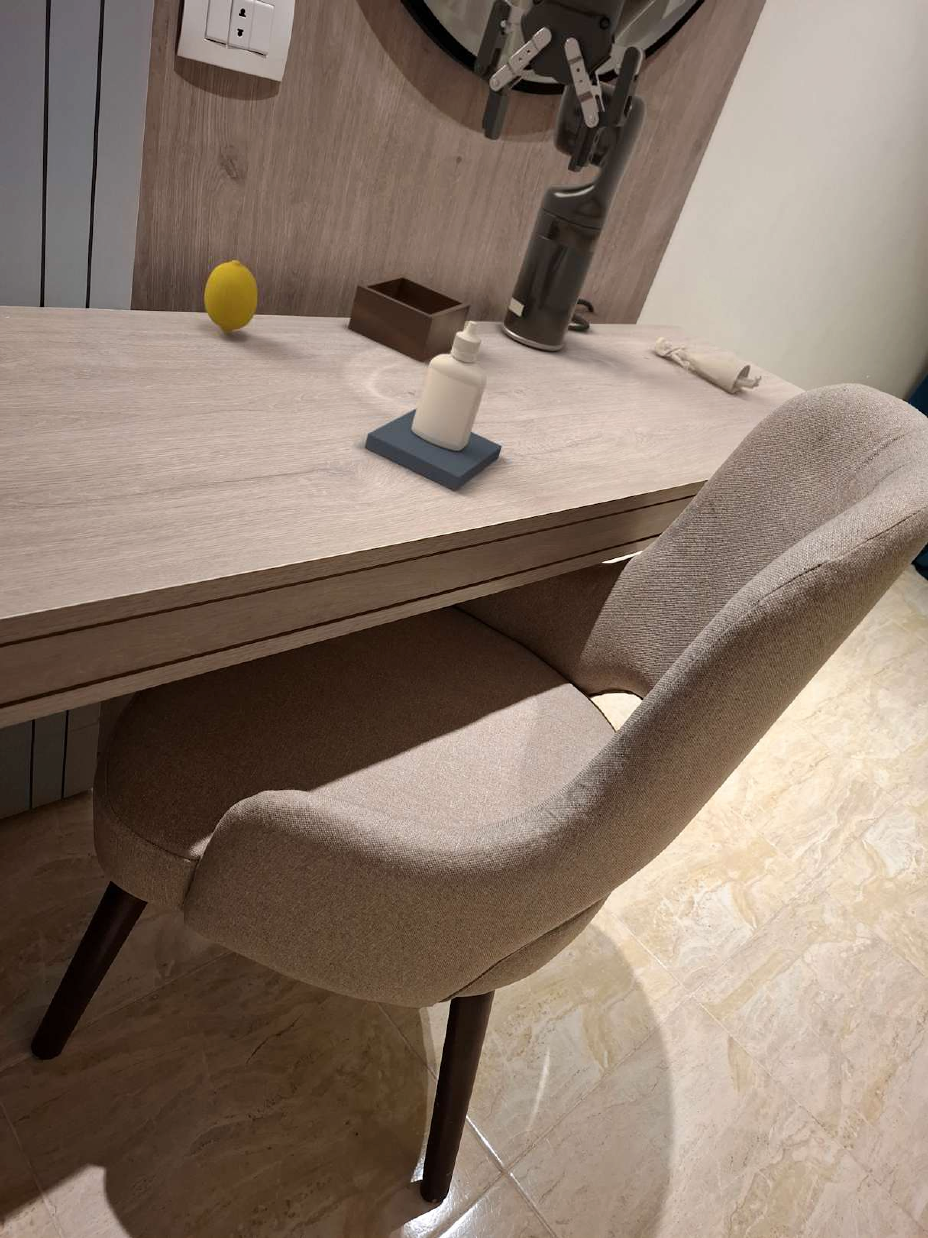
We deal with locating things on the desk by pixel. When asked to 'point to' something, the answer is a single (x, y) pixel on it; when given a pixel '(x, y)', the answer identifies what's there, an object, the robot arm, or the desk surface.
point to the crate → (407, 316)
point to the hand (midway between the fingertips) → (531, 154)
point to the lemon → (231, 296)
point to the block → (432, 453)
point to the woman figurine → (710, 367)
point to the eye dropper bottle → (451, 394)
